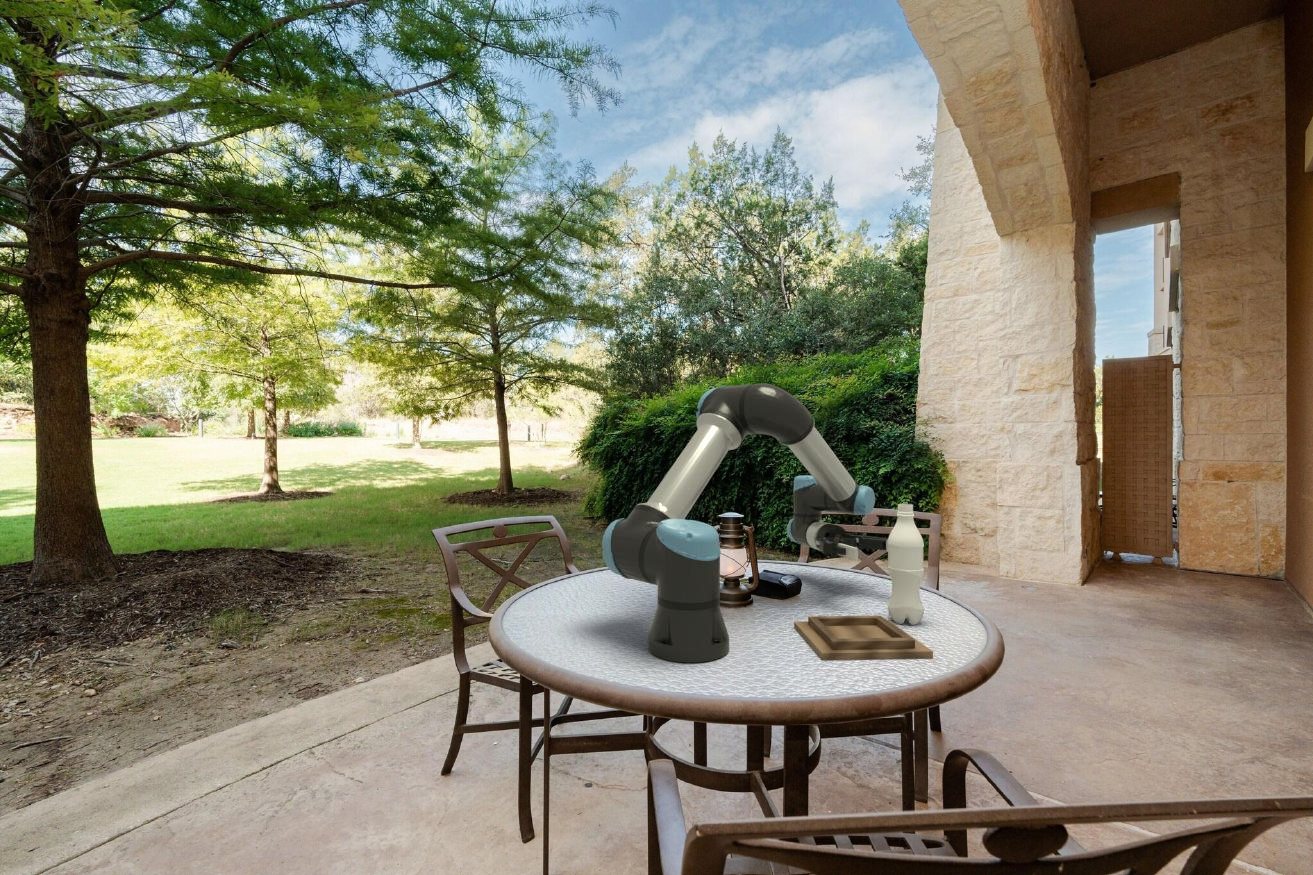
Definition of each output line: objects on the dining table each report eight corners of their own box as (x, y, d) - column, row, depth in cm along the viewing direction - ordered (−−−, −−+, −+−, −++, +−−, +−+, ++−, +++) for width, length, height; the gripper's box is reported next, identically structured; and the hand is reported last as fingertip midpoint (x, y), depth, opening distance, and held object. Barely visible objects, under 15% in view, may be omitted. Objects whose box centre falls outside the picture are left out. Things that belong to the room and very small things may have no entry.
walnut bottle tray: (822, 660, 104) (822, 644, 104) (794, 627, 122) (794, 614, 122) (932, 658, 104) (932, 642, 104) (888, 626, 122) (888, 613, 122)
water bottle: (888, 624, 123) (888, 505, 123) (886, 615, 130) (886, 502, 130) (926, 628, 121) (925, 507, 121) (922, 618, 128) (921, 503, 128)
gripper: (785, 525, 150) (834, 538, 129) (867, 521, 157) (926, 533, 137) (785, 554, 149) (834, 572, 129) (868, 549, 157) (926, 565, 137)
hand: (882, 552), depth 133 cm, fingers open, 13 cm apart
